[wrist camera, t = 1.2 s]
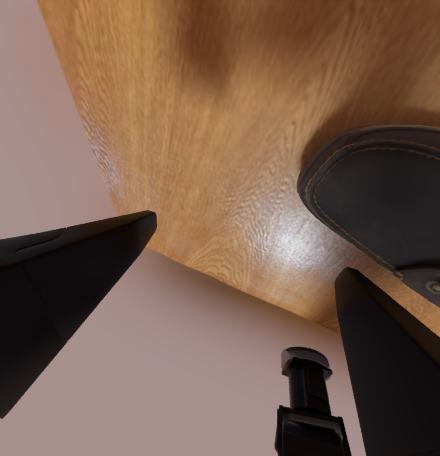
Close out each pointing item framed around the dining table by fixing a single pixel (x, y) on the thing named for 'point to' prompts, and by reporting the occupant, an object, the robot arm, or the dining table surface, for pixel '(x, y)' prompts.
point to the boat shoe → (382, 198)
